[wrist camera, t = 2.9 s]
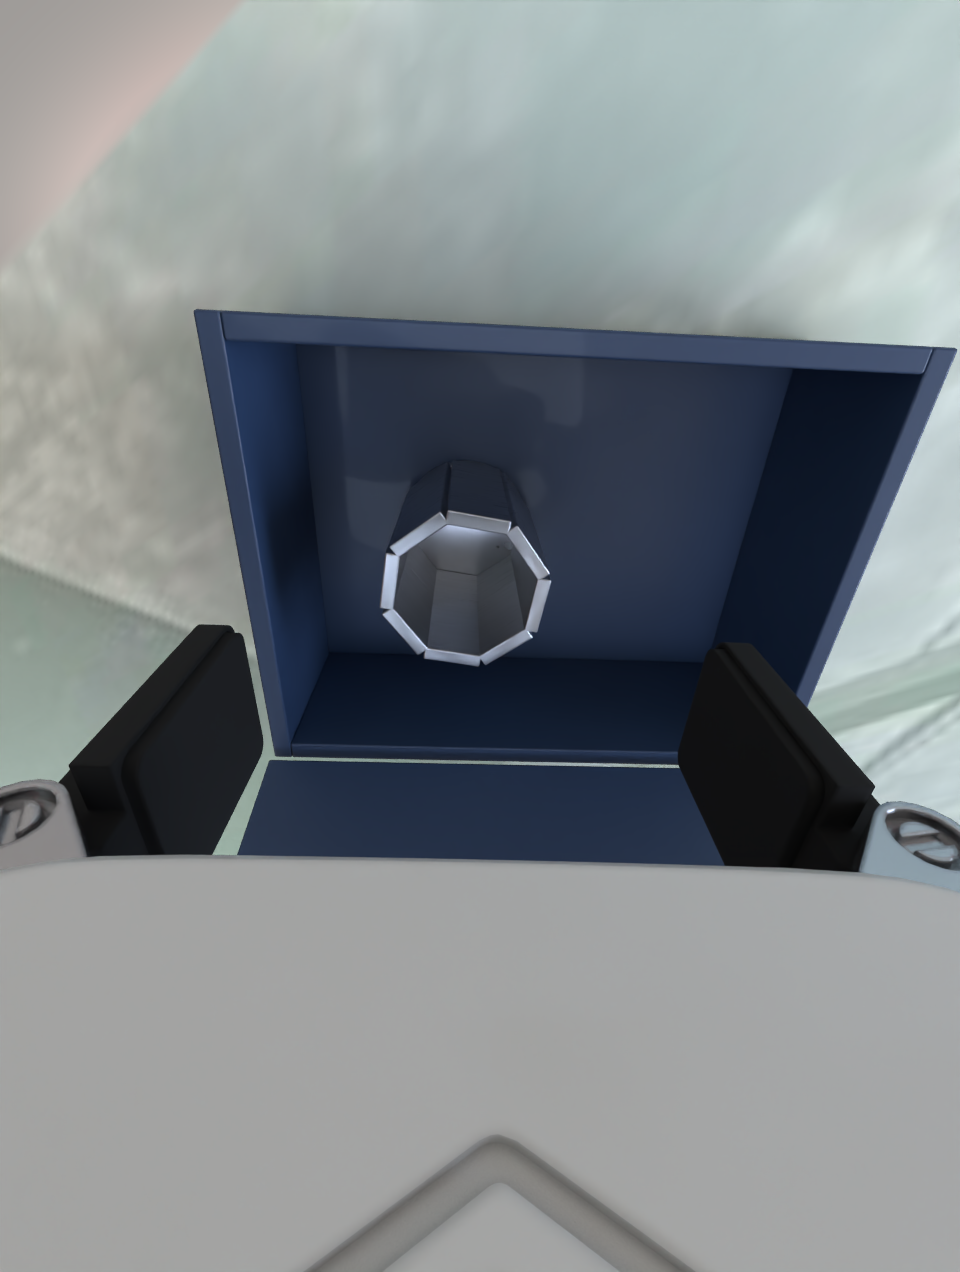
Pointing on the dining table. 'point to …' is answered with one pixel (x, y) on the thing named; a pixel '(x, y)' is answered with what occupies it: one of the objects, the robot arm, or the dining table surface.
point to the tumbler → (464, 566)
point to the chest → (552, 517)
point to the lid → (478, 813)
